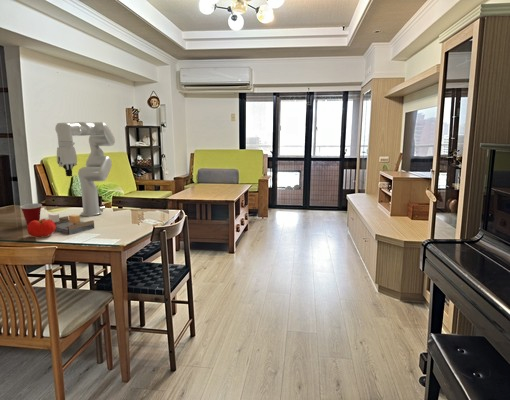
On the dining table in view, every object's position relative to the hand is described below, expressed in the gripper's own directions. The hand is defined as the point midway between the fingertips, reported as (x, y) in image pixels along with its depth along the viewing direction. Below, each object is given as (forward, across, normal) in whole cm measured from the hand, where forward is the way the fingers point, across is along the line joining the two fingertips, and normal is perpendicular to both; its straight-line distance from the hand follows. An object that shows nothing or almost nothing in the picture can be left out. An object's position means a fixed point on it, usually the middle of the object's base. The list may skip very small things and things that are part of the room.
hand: (69, 176), depth 205 cm
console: (+28, +12, +12) cm, 32 cm away
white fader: (+25, +16, +5) cm, 30 cm away
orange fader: (+25, +13, +18) cm, 33 cm away
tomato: (+27, +28, +14) cm, 42 cm away
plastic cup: (+28, +16, -14) cm, 35 cm away
